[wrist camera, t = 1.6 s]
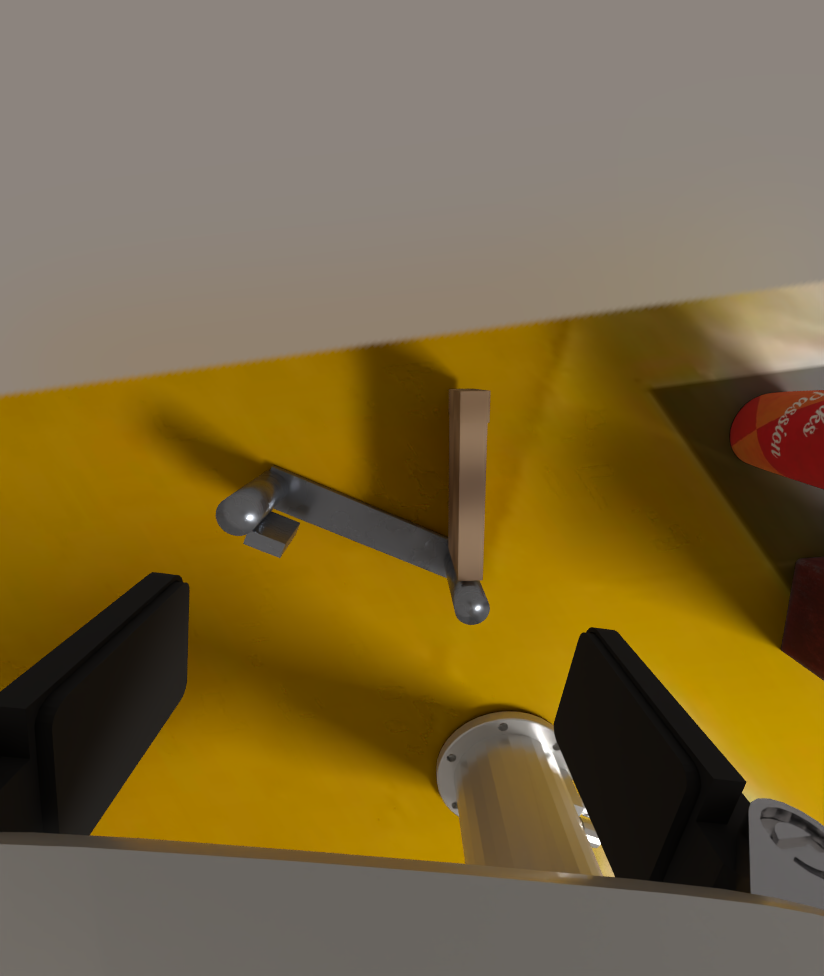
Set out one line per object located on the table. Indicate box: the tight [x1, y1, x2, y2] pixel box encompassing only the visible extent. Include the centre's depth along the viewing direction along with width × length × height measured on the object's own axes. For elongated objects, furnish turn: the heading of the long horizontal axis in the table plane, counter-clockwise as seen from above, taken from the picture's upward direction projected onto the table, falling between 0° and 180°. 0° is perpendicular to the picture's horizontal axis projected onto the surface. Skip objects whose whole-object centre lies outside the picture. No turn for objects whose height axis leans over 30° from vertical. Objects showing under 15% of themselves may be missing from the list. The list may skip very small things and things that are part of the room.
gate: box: [448, 389, 490, 581], centre depth 28 cm, size 12×2×6 cm, turn 1°
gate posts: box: [216, 465, 490, 625], centre depth 29 cm, size 18×4×8 cm, turn 66°
